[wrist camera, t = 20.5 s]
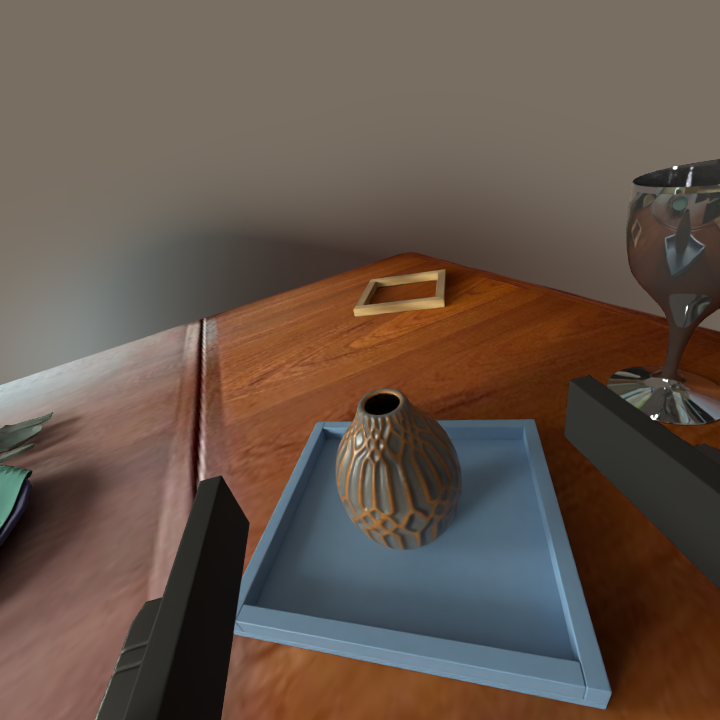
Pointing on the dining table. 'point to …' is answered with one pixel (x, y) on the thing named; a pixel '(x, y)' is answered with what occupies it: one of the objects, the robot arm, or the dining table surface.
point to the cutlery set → (15, 473)
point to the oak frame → (407, 305)
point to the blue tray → (434, 575)
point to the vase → (398, 472)
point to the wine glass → (675, 285)
